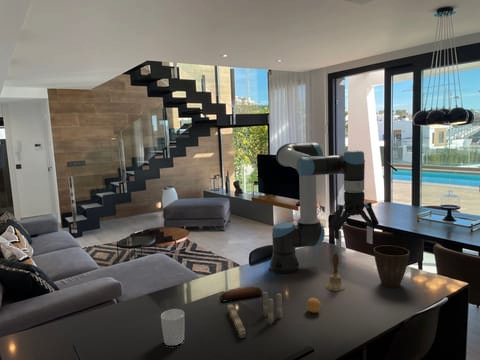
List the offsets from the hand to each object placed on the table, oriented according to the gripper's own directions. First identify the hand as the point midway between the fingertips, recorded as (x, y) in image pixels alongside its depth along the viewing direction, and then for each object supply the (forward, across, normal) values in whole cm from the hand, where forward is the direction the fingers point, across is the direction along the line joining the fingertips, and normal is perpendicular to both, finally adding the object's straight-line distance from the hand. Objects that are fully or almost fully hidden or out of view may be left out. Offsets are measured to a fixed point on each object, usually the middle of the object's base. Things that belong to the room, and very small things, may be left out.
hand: (354, 245), depth 141 cm
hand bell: (+26, +2, +19) cm, 32 cm away
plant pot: (+25, +27, +14) cm, 40 cm away
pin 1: (+25, -35, +5) cm, 44 cm away
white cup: (+26, -71, -2) cm, 76 cm away
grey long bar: (+25, -48, +2) cm, 54 cm away
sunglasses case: (+26, -40, +25) cm, 54 cm away
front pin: (+25, -31, +2) cm, 40 cm away
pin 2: (+25, -36, -1) cm, 44 cm away
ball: (+23, -17, +2) cm, 28 cm away
